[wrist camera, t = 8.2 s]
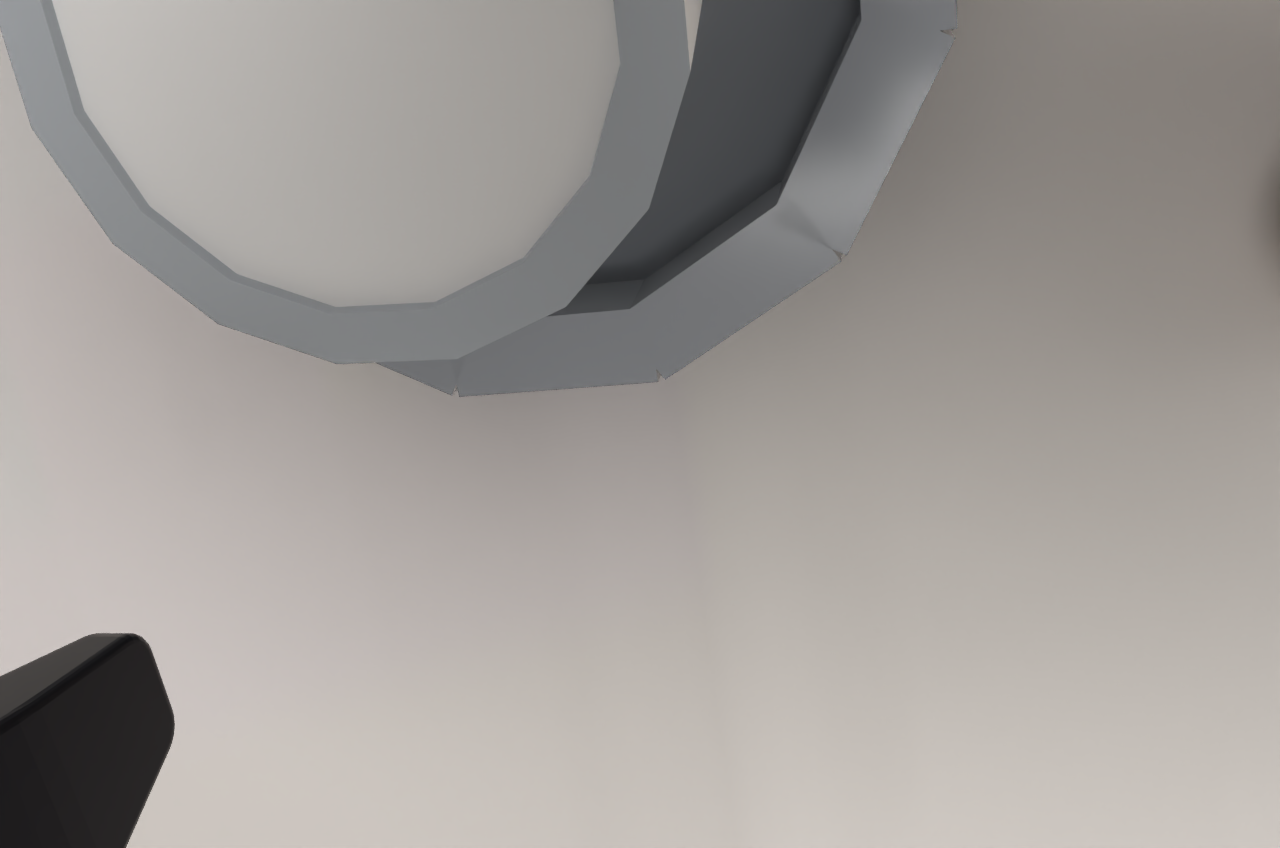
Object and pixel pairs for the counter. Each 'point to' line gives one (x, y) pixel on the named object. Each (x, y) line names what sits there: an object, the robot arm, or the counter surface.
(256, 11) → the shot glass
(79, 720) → the robot arm
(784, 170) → the tray
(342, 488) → the counter surface
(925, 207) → the counter surface
